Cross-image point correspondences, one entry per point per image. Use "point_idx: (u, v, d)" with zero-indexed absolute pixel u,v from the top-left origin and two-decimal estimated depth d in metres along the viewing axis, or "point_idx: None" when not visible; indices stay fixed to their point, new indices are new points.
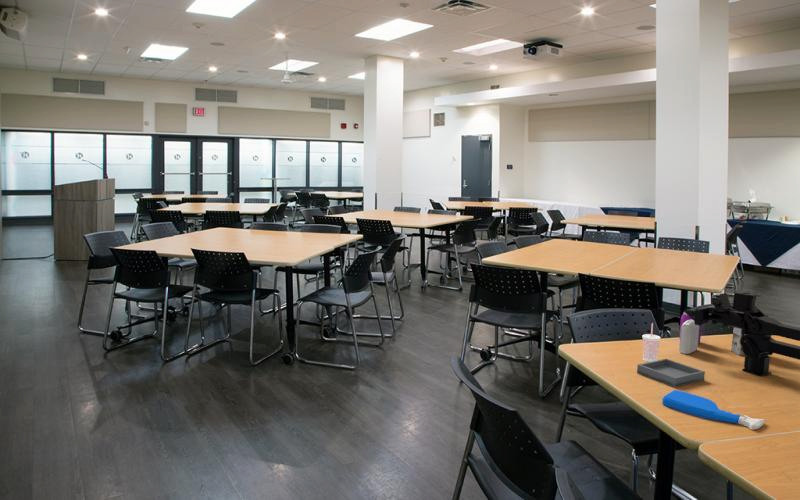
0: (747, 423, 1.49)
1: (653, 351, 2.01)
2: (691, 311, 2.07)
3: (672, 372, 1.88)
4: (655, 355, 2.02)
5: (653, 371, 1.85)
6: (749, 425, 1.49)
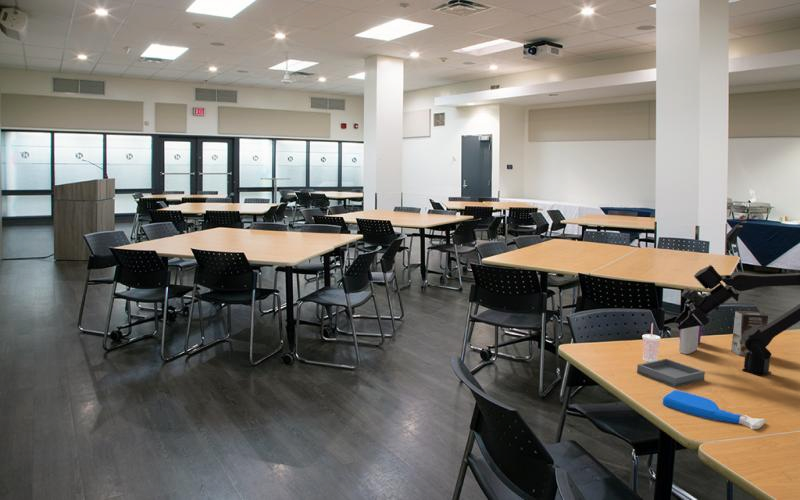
0: (748, 423, 1.50)
1: (653, 351, 2.01)
2: (685, 321, 1.94)
3: (672, 372, 1.88)
4: (655, 355, 2.02)
5: (653, 371, 1.85)
6: (750, 425, 1.49)
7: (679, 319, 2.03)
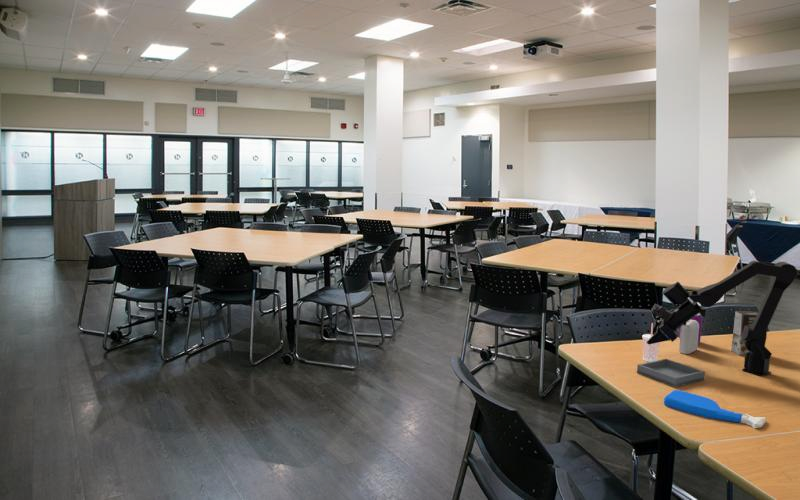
0: (750, 422, 1.50)
1: (653, 351, 2.01)
2: (654, 337, 1.99)
3: (672, 372, 1.88)
4: (655, 355, 2.02)
5: (653, 371, 1.85)
6: (752, 424, 1.50)
7: None
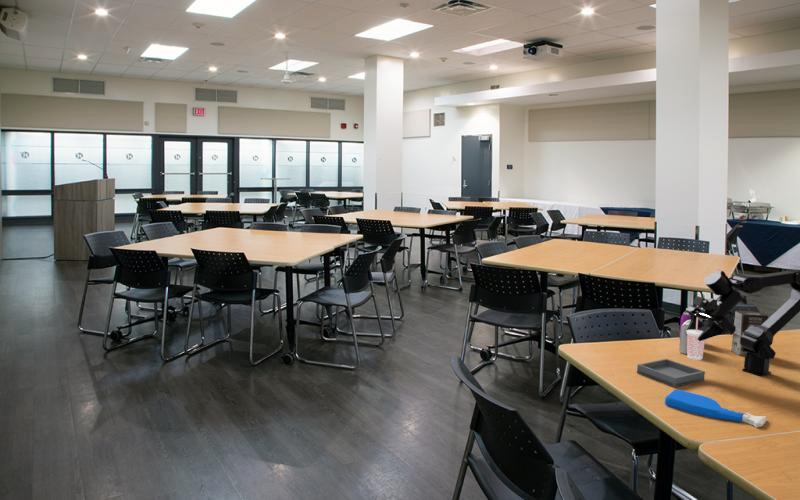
0: (751, 421, 1.51)
1: (702, 347, 1.86)
2: (707, 332, 1.83)
3: (672, 372, 1.88)
4: None
5: (653, 371, 1.85)
6: (753, 423, 1.50)
7: None
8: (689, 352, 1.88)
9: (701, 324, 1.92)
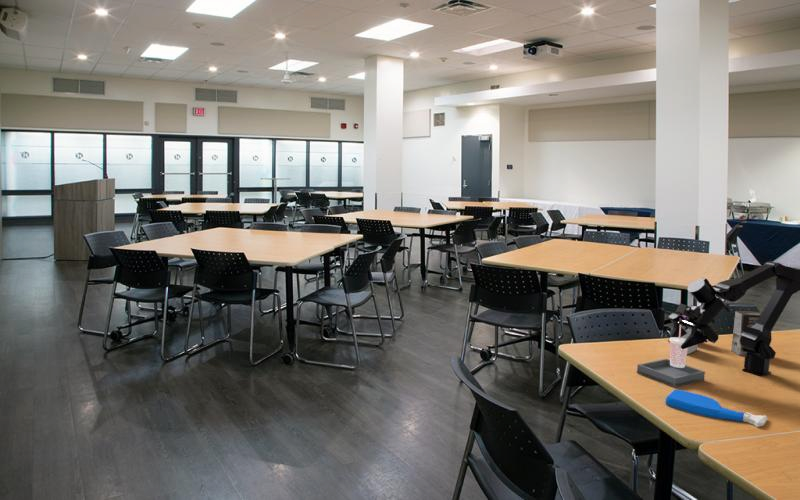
0: (752, 420, 1.51)
1: (684, 355, 1.84)
2: (689, 340, 1.82)
3: (672, 372, 1.88)
4: (685, 359, 1.85)
5: (653, 371, 1.85)
6: (754, 422, 1.50)
7: None
8: (672, 360, 1.86)
9: (684, 332, 1.90)
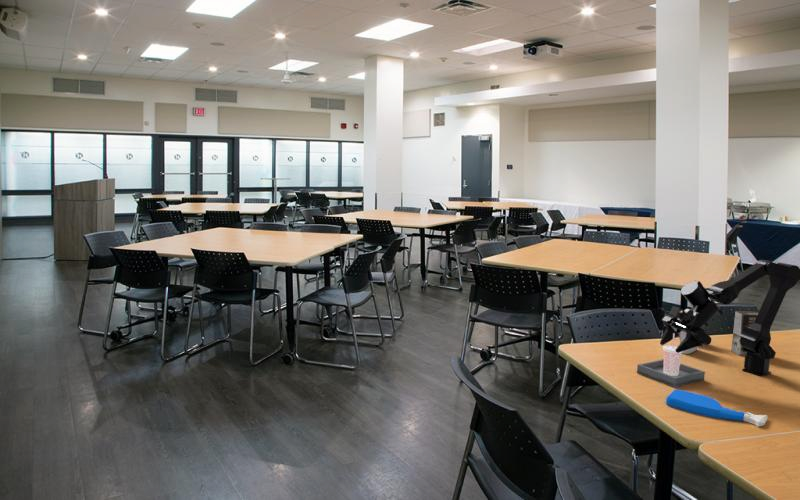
0: (753, 420, 1.51)
1: (678, 364, 1.84)
2: (684, 343, 1.81)
3: None
4: None
5: (653, 371, 1.85)
6: (755, 422, 1.51)
7: (664, 341, 1.90)
8: (665, 368, 1.86)
9: (675, 334, 1.91)
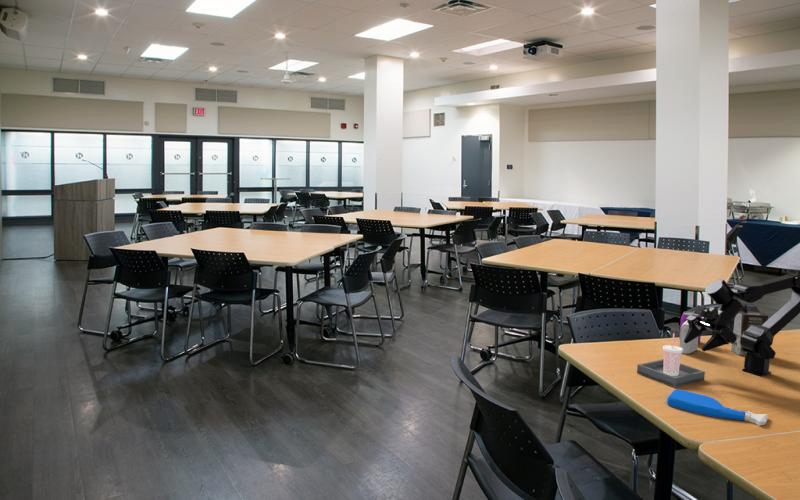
0: (754, 419, 1.52)
1: (678, 364, 1.84)
2: (711, 342, 1.82)
3: None
4: None
5: (653, 371, 1.85)
6: (756, 421, 1.51)
7: (688, 339, 1.92)
8: (665, 368, 1.86)
9: (699, 332, 1.93)
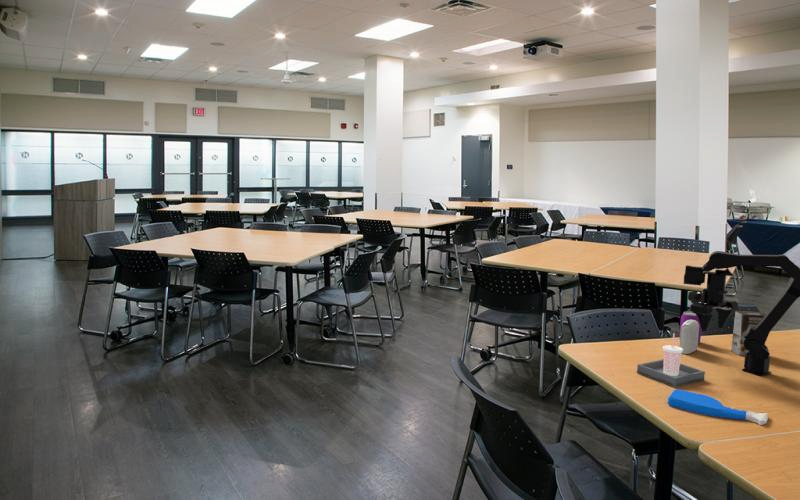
0: (755, 419, 1.52)
1: (678, 364, 1.84)
2: (700, 321, 1.95)
3: None
4: None
5: (653, 371, 1.85)
6: (757, 421, 1.52)
7: (720, 324, 1.99)
8: (665, 368, 1.86)
9: (727, 312, 1.98)
